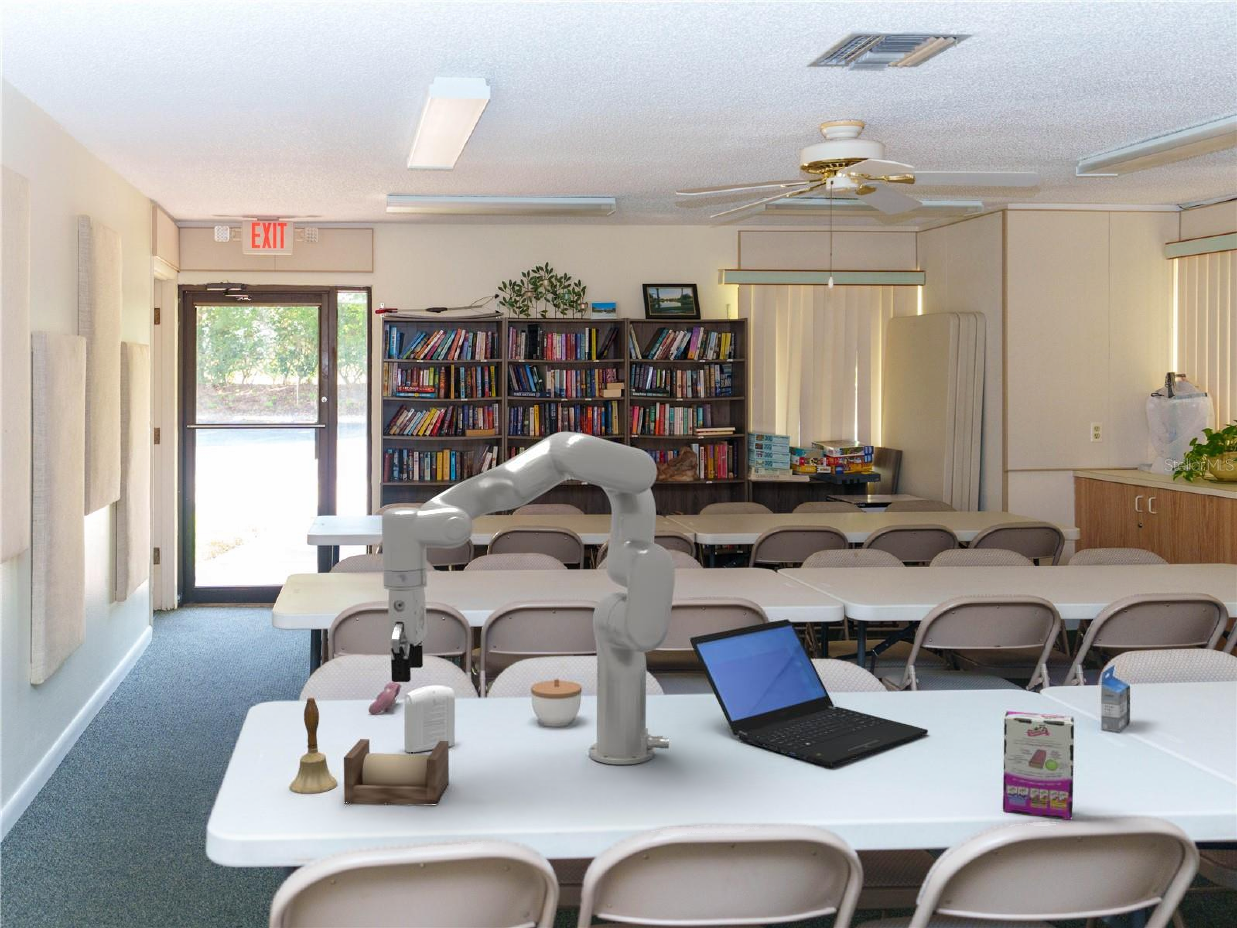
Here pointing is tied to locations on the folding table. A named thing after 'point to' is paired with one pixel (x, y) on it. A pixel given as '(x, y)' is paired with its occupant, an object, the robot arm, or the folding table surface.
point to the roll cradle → (395, 794)
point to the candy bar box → (1038, 764)
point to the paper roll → (395, 769)
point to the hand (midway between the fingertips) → (407, 674)
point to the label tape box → (1114, 703)
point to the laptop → (787, 697)
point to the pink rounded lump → (385, 698)
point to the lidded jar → (556, 702)
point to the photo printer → (429, 718)
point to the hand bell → (312, 759)
